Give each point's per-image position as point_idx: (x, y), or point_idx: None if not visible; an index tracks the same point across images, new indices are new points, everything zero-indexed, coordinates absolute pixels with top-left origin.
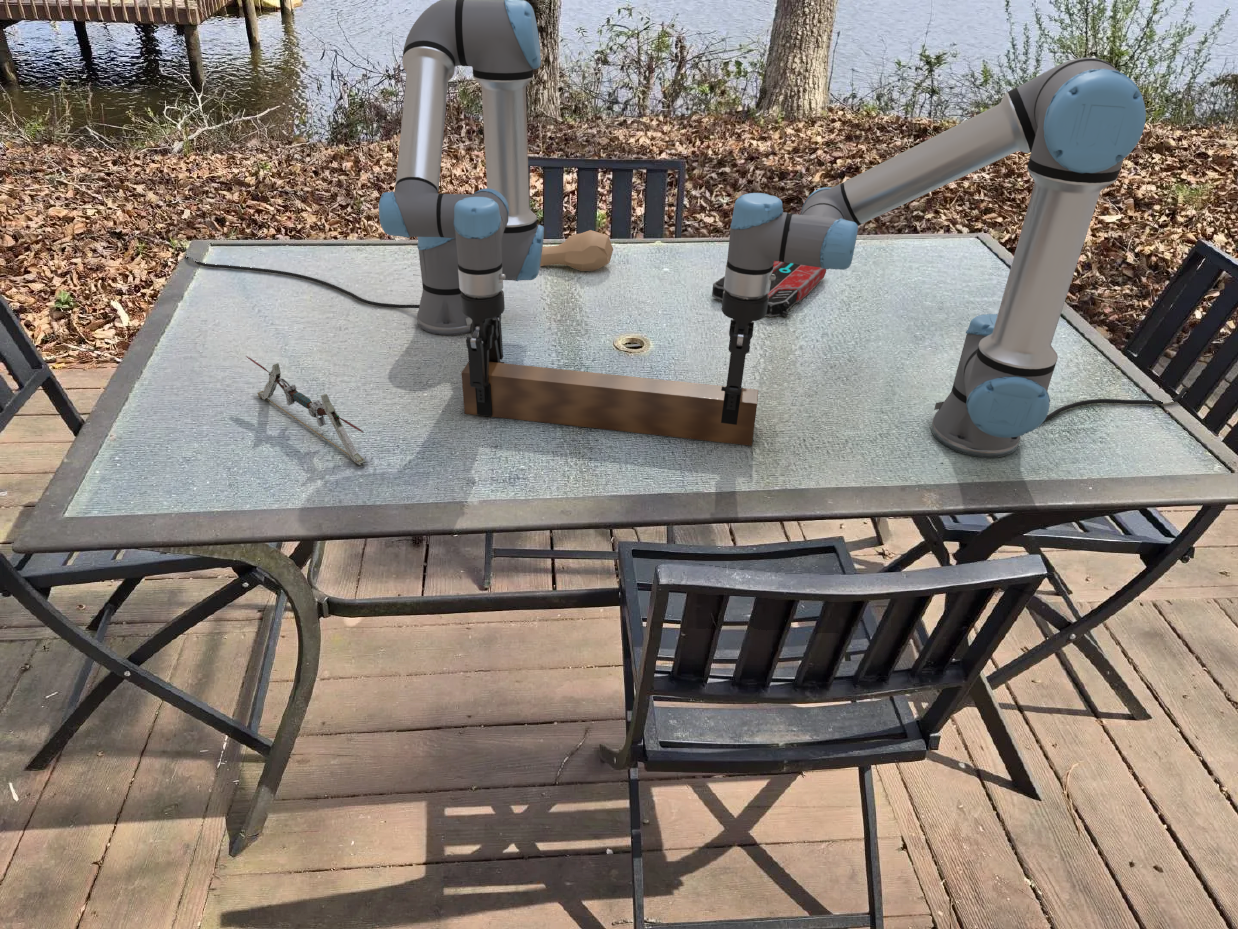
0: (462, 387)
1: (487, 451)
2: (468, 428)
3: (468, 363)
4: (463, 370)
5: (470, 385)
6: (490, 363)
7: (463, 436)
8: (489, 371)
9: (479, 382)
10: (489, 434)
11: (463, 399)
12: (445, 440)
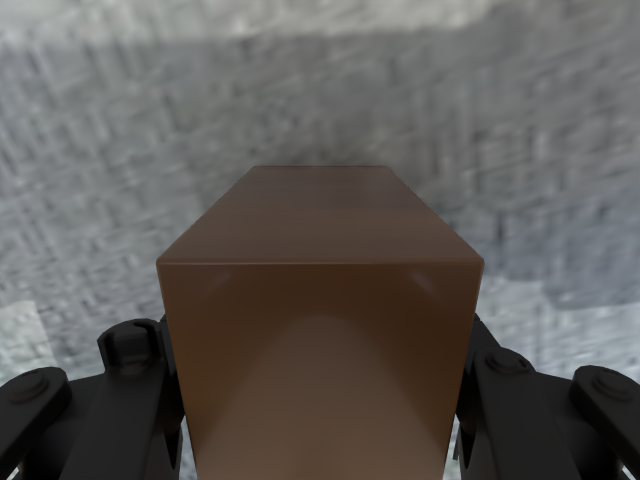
0: (212, 206)
1: (24, 333)
2: (141, 222)
3: (384, 273)
4: (206, 271)
5: (4, 385)
6: (413, 449)
7: (74, 221)
8: (263, 473)
9: (20, 471)
10: (133, 310)
11: (236, 183)
12: (5, 155)
